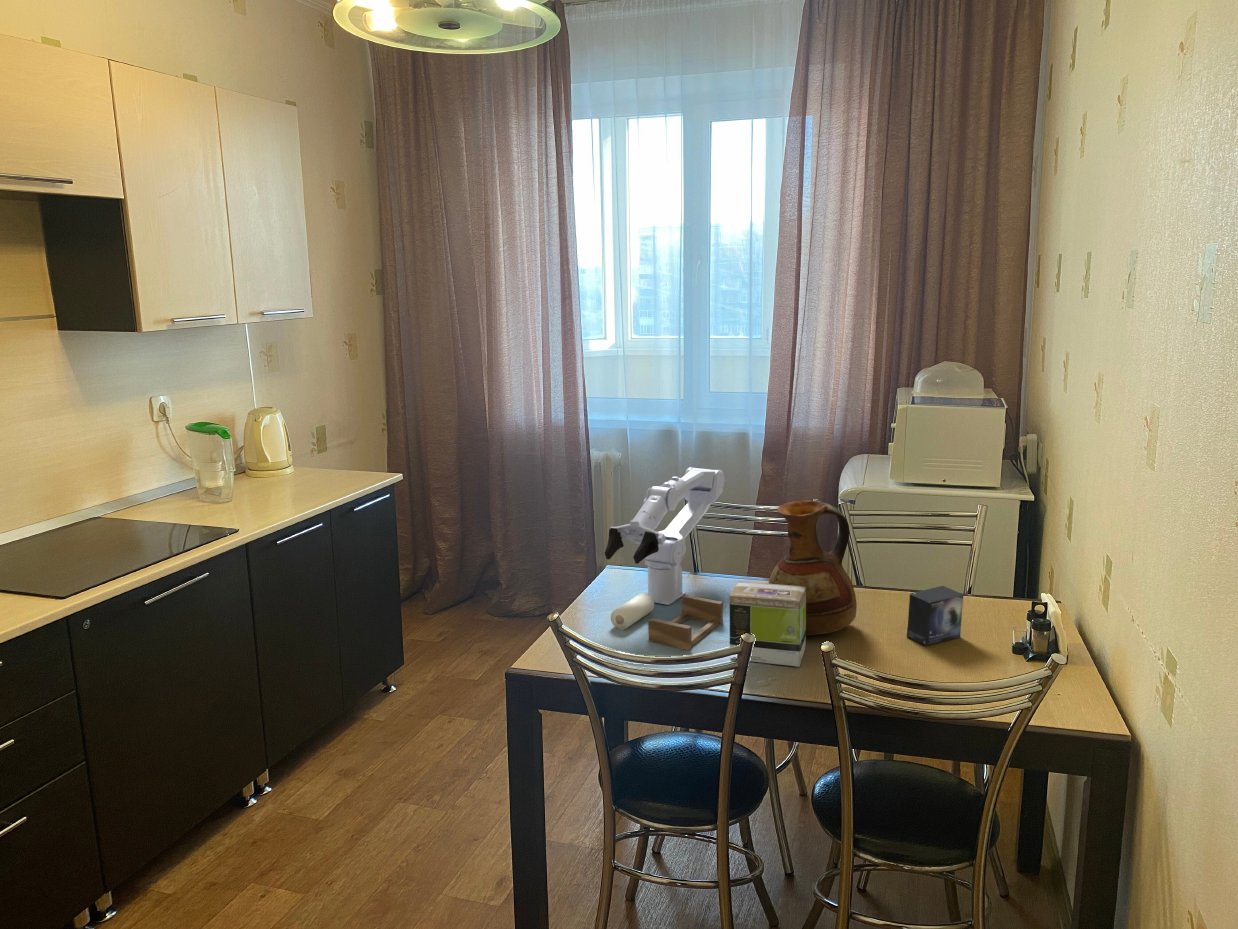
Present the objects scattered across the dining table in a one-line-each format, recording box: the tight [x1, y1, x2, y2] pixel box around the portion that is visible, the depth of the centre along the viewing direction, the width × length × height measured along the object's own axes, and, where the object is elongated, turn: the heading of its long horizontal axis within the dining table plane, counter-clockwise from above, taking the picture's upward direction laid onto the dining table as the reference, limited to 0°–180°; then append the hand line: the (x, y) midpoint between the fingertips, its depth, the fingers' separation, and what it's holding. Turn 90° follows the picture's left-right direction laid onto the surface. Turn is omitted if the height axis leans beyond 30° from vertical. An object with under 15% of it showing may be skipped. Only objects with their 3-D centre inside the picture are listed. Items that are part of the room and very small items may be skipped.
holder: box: [647, 594, 724, 651], centre depth 207 cm, size 18×10×5 cm, turn 149°
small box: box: [906, 585, 965, 647], centre depth 200 cm, size 11×6×10 cm, turn 118°
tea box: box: [728, 580, 807, 668], centre depth 192 cm, size 15×10×15 cm
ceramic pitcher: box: [768, 499, 858, 636], centre depth 205 cm, size 20×20×30 cm
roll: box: [610, 592, 655, 631], centre depth 214 cm, size 12×5×5 cm, turn 149°
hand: (621, 558), depth 207 cm, fingers open, 7 cm apart
